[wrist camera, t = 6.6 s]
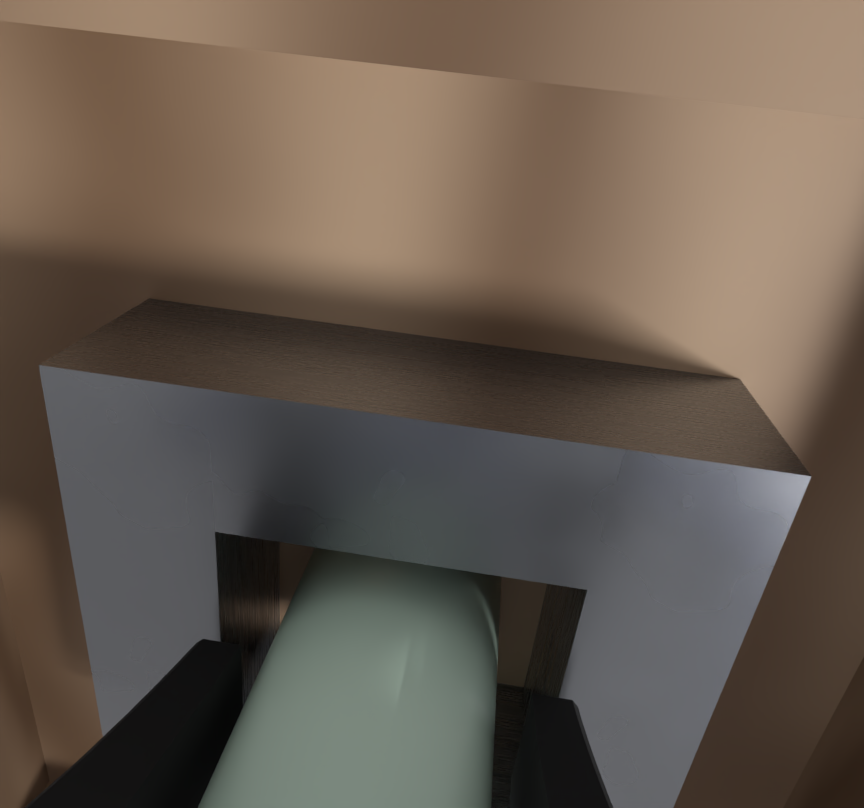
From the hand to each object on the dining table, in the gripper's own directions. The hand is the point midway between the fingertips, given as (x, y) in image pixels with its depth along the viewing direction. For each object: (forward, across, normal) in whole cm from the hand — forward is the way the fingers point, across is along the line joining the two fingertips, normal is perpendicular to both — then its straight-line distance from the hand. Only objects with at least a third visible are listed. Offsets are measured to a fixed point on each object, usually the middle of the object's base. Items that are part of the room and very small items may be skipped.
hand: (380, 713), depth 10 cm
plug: (+3, 0, 0) cm, 3 cm away
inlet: (+4, 0, 0) cm, 4 cm away
